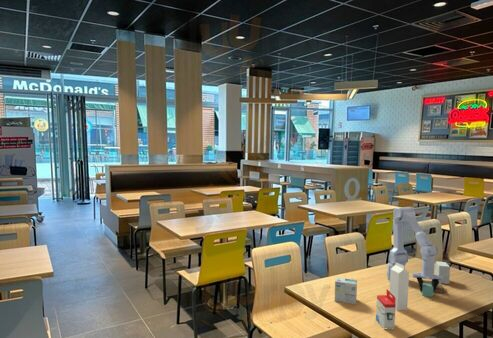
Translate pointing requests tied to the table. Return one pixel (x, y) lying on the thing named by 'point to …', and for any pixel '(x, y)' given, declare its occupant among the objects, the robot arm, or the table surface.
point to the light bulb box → (345, 290)
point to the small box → (443, 271)
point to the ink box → (386, 310)
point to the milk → (399, 286)
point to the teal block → (427, 290)
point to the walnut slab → (438, 289)
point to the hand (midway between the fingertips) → (426, 291)
